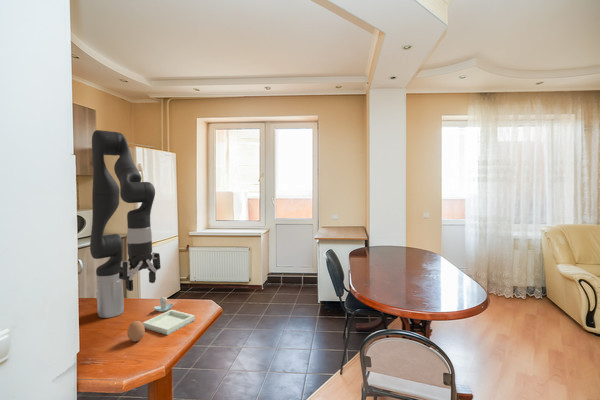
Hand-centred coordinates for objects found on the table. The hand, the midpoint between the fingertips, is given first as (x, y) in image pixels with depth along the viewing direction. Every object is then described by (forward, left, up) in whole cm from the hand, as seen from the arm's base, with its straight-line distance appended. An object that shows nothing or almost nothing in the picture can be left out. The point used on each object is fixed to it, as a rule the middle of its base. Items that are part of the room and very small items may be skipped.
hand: (141, 286), depth 109 cm
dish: (-1, +12, -19) cm, 23 cm away
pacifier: (-15, +20, -19) cm, 32 cm away
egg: (-1, -2, -19) cm, 19 cm away
